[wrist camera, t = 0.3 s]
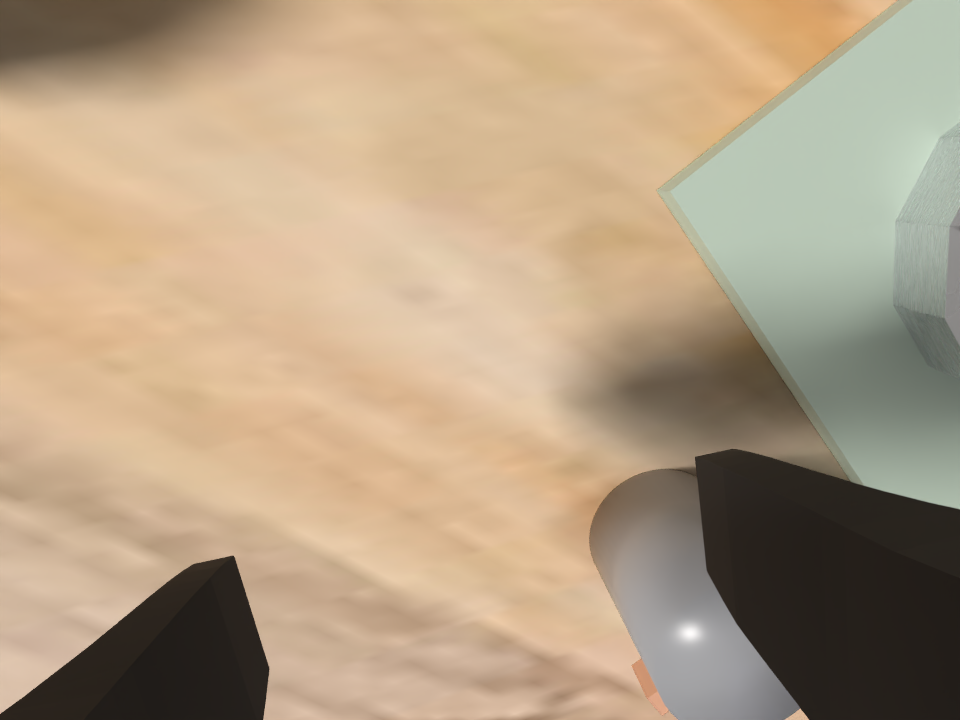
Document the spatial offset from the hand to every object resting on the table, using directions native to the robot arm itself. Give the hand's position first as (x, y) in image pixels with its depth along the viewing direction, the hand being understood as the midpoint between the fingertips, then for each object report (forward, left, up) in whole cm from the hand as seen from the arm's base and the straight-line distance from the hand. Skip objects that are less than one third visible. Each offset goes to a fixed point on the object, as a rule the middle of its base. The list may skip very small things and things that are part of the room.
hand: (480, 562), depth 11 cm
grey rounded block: (-9, -2, -10) cm, 13 cm away
